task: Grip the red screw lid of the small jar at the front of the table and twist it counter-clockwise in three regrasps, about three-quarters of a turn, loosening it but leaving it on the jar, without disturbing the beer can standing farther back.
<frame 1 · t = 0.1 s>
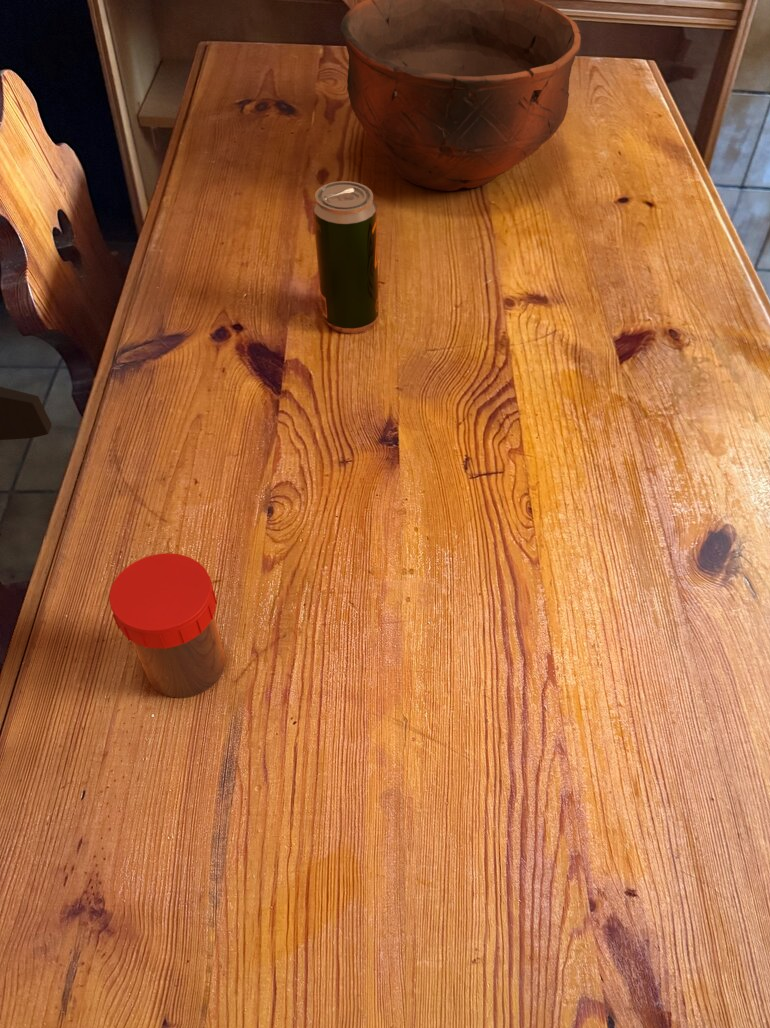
hand: (17, 466, 43), 20 cm above the table, tool horizontal, fingers open, 7 cm apart
jar: (186, 665, 60), on the table
jar lid: (161, 594, 54), point 8 cm above the table, screwed on, not yet turned
bowl: (454, 171, 103), on the table
beer can: (350, 320, 85), on the table
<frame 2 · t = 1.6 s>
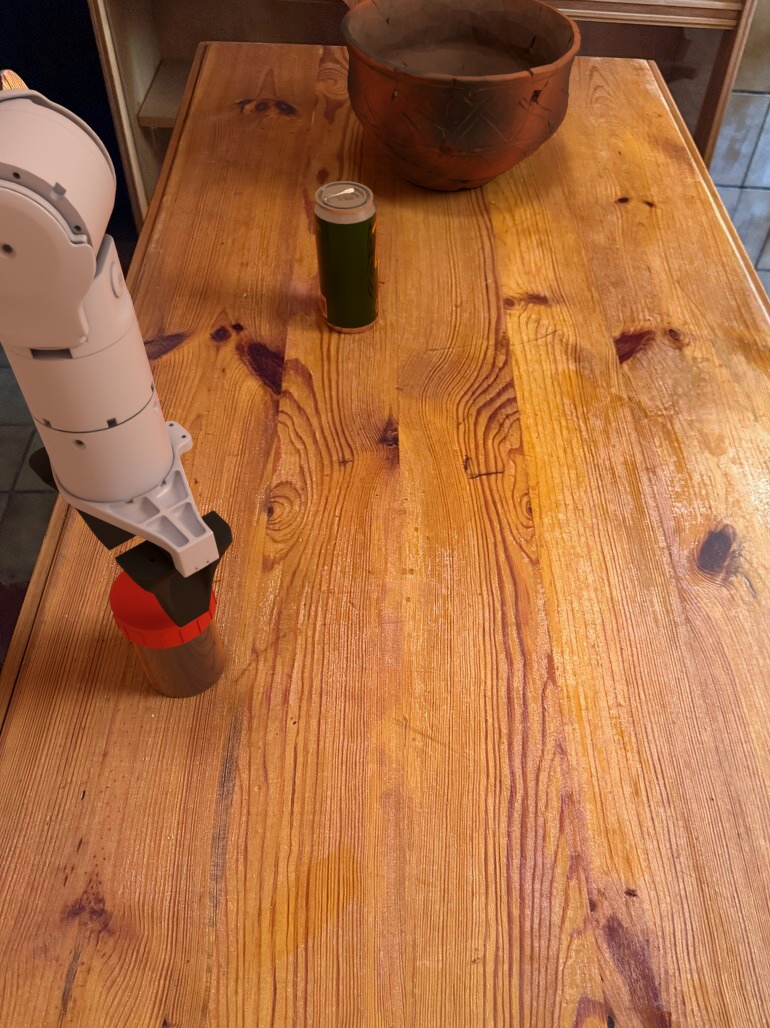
hand: (155, 576, 52), 9 cm above the table, tool pointing down, fingers open, 7 cm apart
nothing on the table moved.
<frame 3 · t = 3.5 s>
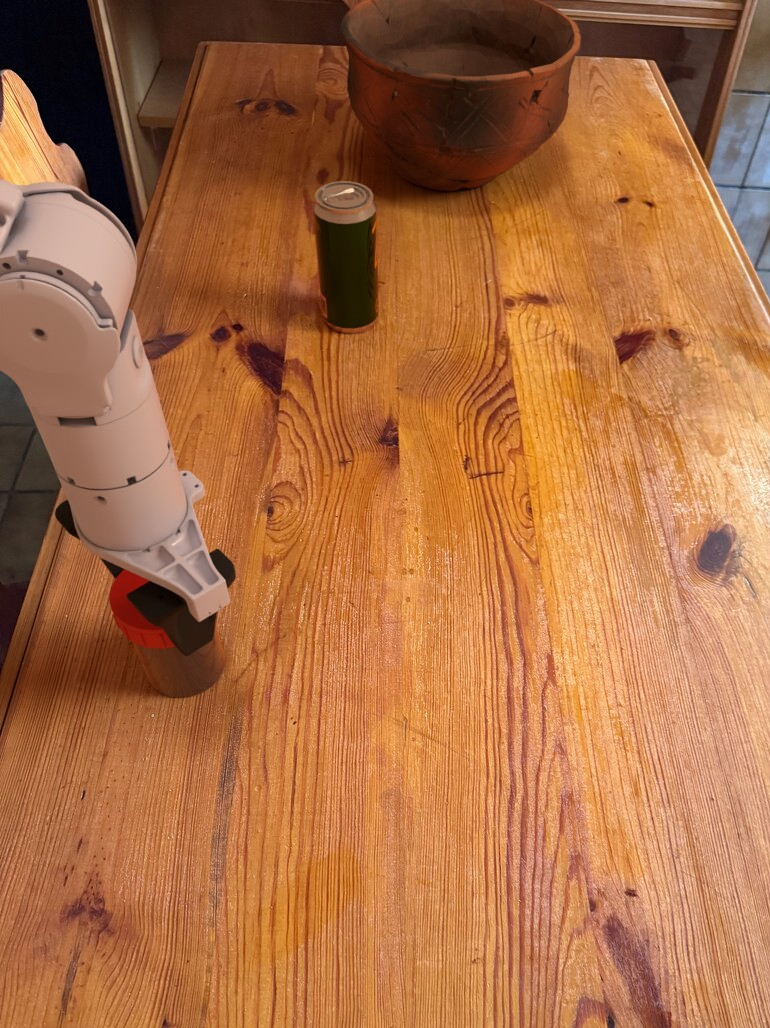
hand: (168, 613, 55), 6 cm above the table, tool pointing down, fingers closed on jar lid, 6 cm apart
jar lid: (161, 594, 54), point 8 cm above the table, screwed on, not yet turned, touching gripper
everything else where it was.
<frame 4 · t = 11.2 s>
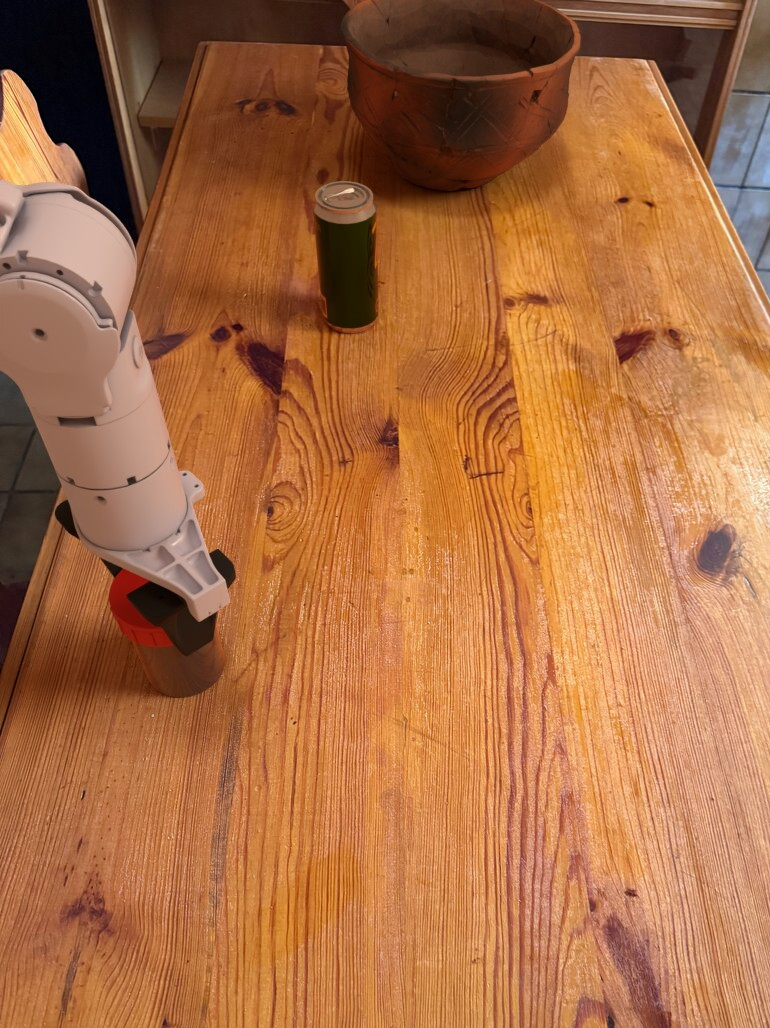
hand: (168, 613, 55), 6 cm above the table, tool pointing down, fingers closed on jar lid, 6 cm apart
jar lid: (161, 592, 54), point 8 cm above the table, turned 78° so far, risen 0.1 cm, still on its thread, touching gripper
everything else where it was.
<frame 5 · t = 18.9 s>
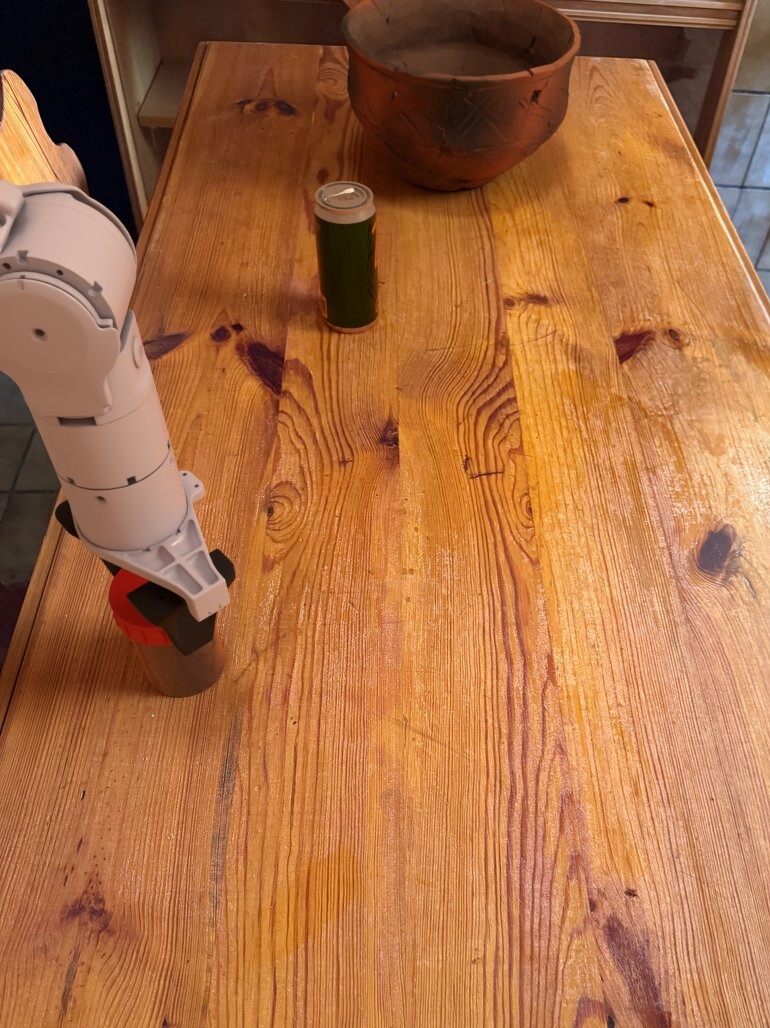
hand: (168, 613, 55), 6 cm above the table, tool pointing down, fingers closed on jar lid, 6 cm apart
jar lid: (161, 591, 54), point 8 cm above the table, turned 155° so far, risen 0.2 cm, still on its thread, touching gripper
everything else where it was.
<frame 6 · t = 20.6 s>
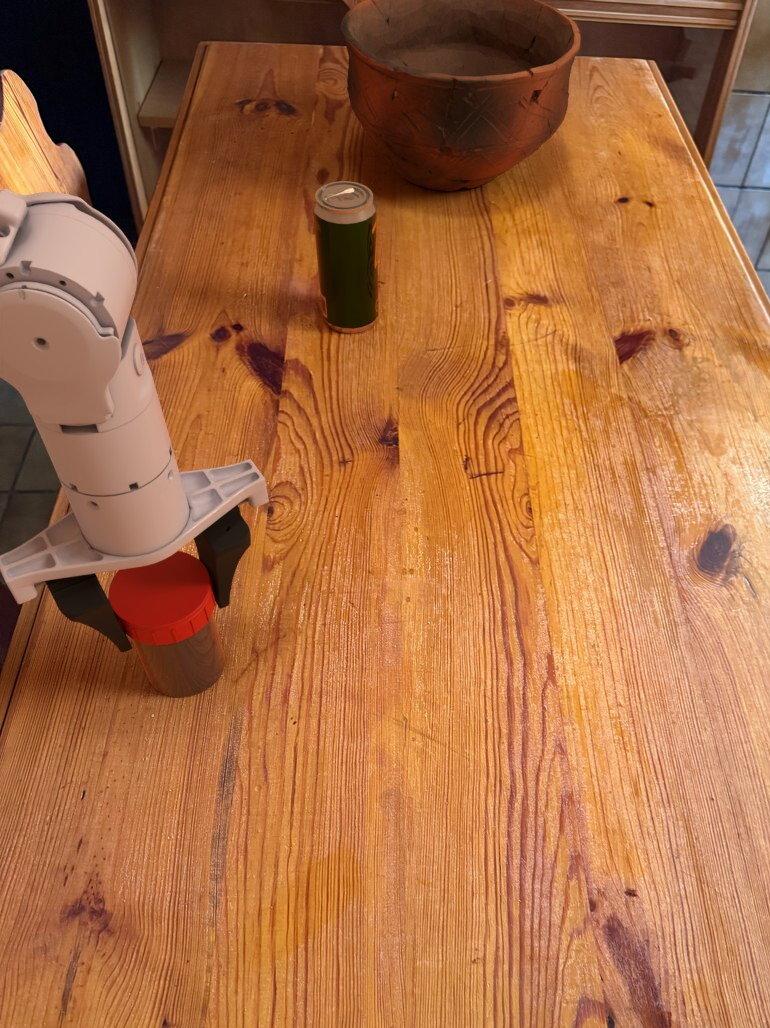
hand: (171, 617, 55), 5 cm above the table, tool pointing down, fingers closed on jar lid, 6 cm apart
jar lid: (161, 591, 53), point 8 cm above the table, turned 232° so far, risen 0.3 cm, still on its thread, touching gripper
everything else where it was.
when the fingers open (2 cm above the table, at t = 22.3 s): jar lid stays where it is, point 8 cm above the table.
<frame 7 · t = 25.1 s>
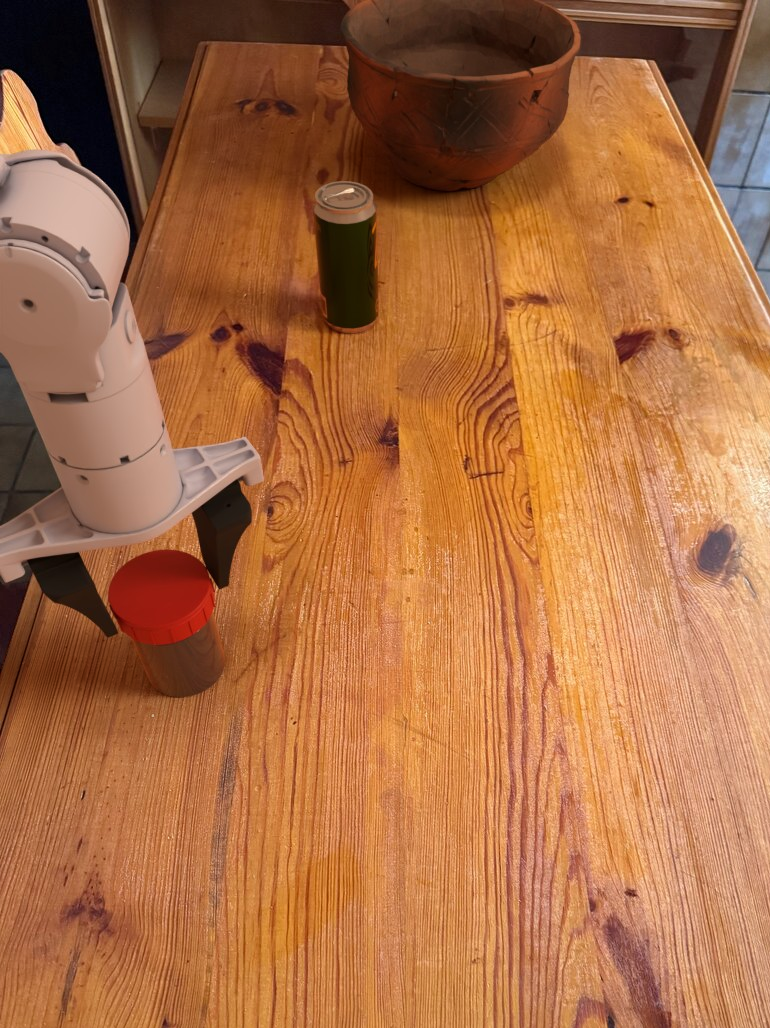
hand: (163, 600, 54), 7 cm above the table, tool pointing down, fingers open, 6 cm apart
jar lid: (160, 590, 53), point 8 cm above the table, turned 230° so far, risen 0.3 cm, still on its thread
everything else where it was.
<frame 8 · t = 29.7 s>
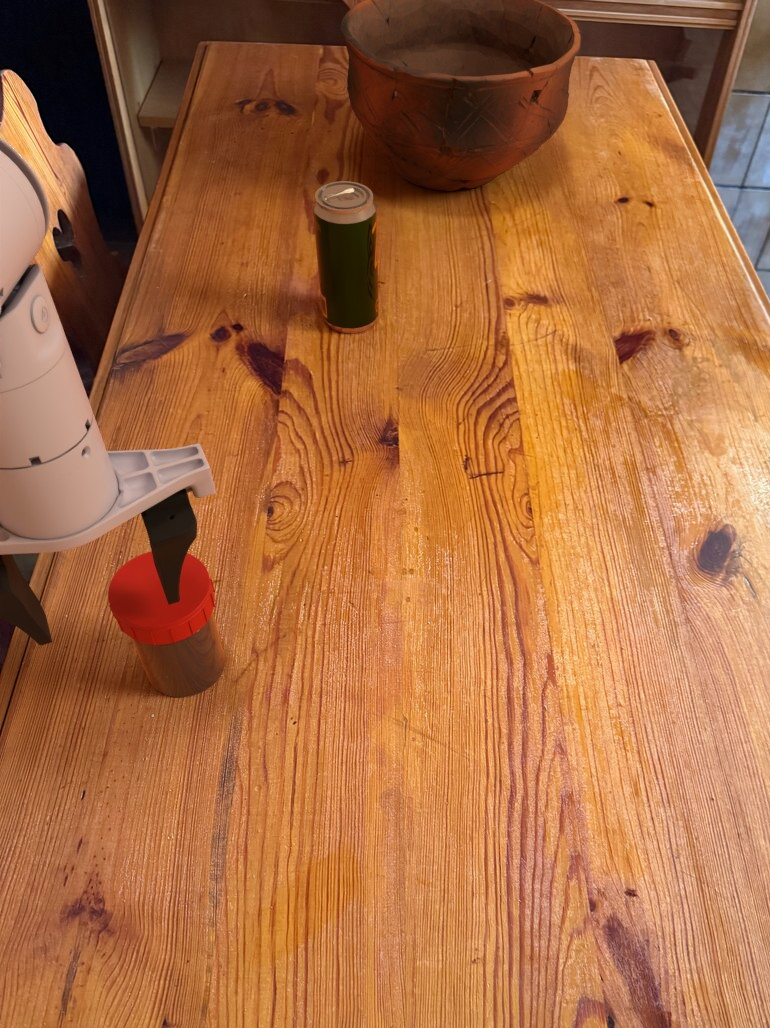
hand: (107, 610, 50), 10 cm above the table, tool pointing down, fingers open, 6 cm apart
nothing on the table moved.
at the end: jar lid turned 0.64 turns (still on its thread); jar lid is still on its thread (0.64 turns); beer can moved 0.2 cm from its start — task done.
